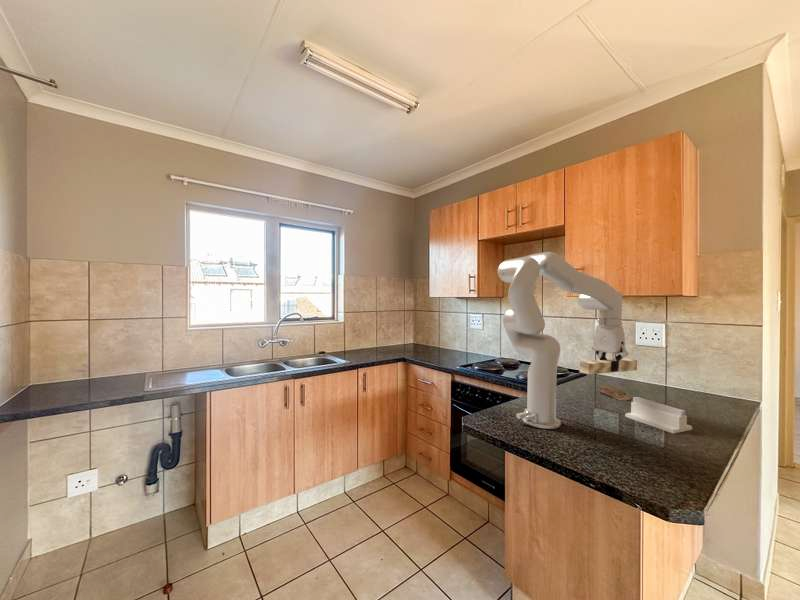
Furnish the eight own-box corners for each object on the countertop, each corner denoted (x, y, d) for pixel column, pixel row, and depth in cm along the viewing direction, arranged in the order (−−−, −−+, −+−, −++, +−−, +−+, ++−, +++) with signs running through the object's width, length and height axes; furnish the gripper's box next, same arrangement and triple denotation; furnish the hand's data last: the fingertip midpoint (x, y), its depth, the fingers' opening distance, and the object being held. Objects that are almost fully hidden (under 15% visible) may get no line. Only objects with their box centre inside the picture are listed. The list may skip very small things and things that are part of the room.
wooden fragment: (634, 402, 141) (634, 400, 141) (605, 400, 144) (605, 397, 144) (617, 387, 165) (617, 385, 165) (592, 385, 169) (592, 383, 169)
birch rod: (589, 374, 120) (589, 363, 120) (579, 372, 124) (579, 361, 124) (636, 370, 130) (637, 360, 130) (626, 368, 133) (626, 358, 133)
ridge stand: (673, 433, 109) (673, 412, 109) (625, 416, 124) (625, 398, 124) (692, 429, 112) (692, 409, 112) (643, 413, 127) (643, 395, 127)
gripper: (583, 321, 133) (582, 365, 133) (624, 324, 117) (623, 375, 118) (597, 320, 136) (596, 364, 136) (638, 324, 120) (637, 374, 120)
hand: (608, 369), depth 127 cm, fingers closed on birch rod, 4 cm apart
